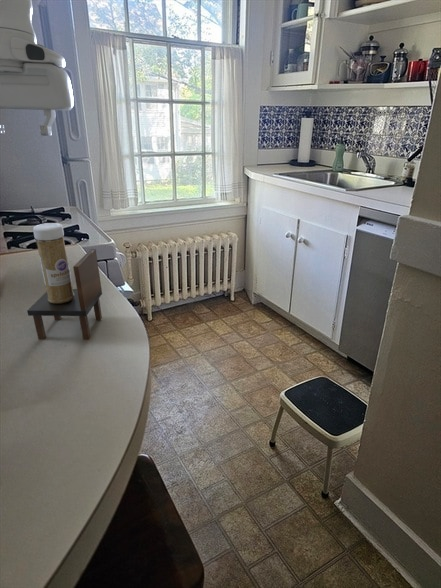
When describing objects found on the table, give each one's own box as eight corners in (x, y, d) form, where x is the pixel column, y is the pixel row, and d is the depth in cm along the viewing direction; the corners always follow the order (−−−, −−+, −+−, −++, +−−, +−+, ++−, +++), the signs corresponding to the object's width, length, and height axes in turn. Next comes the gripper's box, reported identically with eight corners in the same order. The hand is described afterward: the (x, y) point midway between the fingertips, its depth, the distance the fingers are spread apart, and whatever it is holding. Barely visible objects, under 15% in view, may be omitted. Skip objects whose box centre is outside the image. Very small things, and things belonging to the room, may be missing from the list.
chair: (34, 340, 69) (16, 266, 63) (55, 316, 77) (41, 248, 71) (90, 341, 68) (77, 266, 62) (105, 317, 77) (95, 248, 71)
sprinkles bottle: (62, 306, 67) (48, 230, 62) (42, 302, 69) (26, 227, 63) (80, 295, 71) (68, 223, 66) (60, 292, 73) (46, 221, 67)
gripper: (-57, 47, 69) (-41, 132, 73) (58, 50, 68) (67, 136, 73) (-34, 55, 75) (-20, 133, 79) (72, 58, 74) (79, 137, 79)
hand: (22, 134), depth 76 cm, fingers open, 8 cm apart
